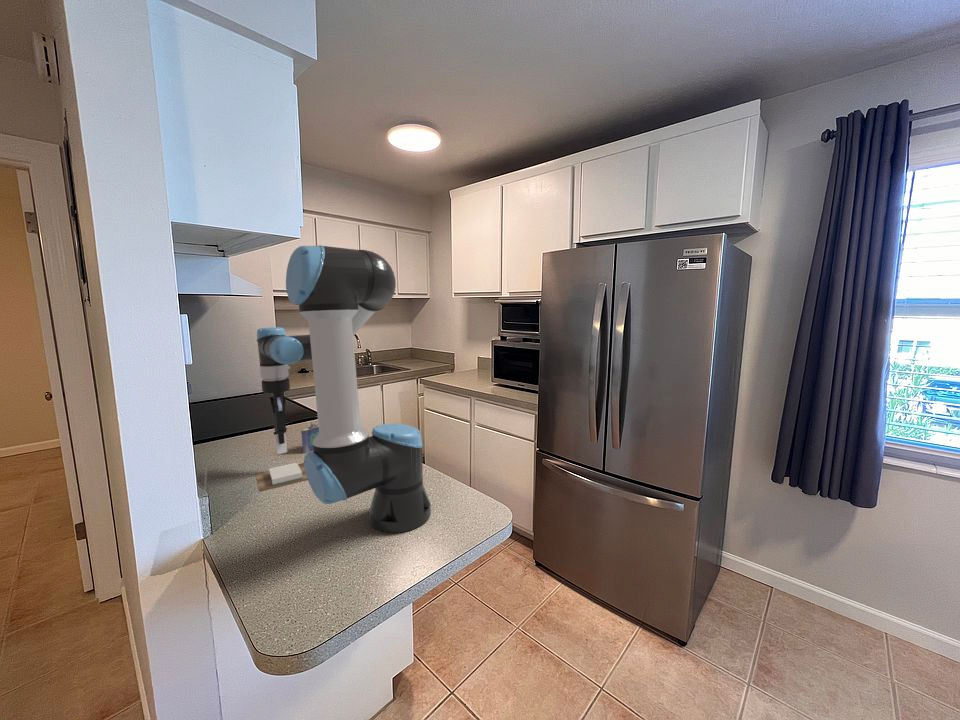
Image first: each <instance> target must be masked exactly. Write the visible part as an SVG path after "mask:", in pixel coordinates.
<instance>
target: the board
mask: <svg viewBox="0 0 960 720" xmlns="http://www.w3.org/2000/svg"><path fill="white" fill-rule="evenodd" d="M298 465H299V467H300V469H301V471H302V478H301V479H297V480H293V481H289V482H284V483H280V484H276V485H272V481H271V478H270V475H269V470H266V471H259V472H256V473H255V477H256V482H257V483H256V484H257V487H258V491H259V493H260V492H266V491H269V490H273V489H278V488H281V487H285V486H289V485H293V484H297V483H302V482H306V481H308V479H307V476H306V472H305V467H304V462H302V463H301V462H300V463H298Z"/></svg>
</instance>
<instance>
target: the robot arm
mask: <svg viewBox="0 0 960 720" xmlns="http://www.w3.org/2000/svg"><path fill="white" fill-rule="evenodd" d="M396 284H397V283H396V277H395V272H394V270H393V268H392V267H391V265H390V263H389V262H388V261H387V260H386V259H385V258H384V257H383V256H381V255H380V254H378V253H376V252H375V251H371V250H366V249H354V248H345V247H337V246H327V245H300V246H298V247H297V248H296V249H294V250H293V251H292V253H291V254H290V257H289V261H288V263H287V268H286V274H285V289H286V290H285V291H286V294H287V299H288V300H289V302H290V303H291V304H293V305H296V306H298V308H299V309H298V311H299V315H301V316H302V317H303V318H304V319H306V321H307V322H308V329H309V330H308V331H309V334H297V335H296V334H295V335H287V334H286V330H285V328H283V327H278V326H276V327H272V326H271V327H260V328H258V329H257V330H256V332H257V333H256V342H257V348H258V349H257V351H258V358H259V370H260V374H259V375H260V379H261V390H262V391H261V392H262V393H264V394H271V396H270V397H268V399H269V404H270V410H271V411H272V412H271V413H272V420H273V428H274V431H273V435H275V436H274V437H275V444H276V453H277V455H280V454H285V453H288V446H287V445H288V444H287V435H286V433H287V430H288V429H287V424H286V405H285V404H286V397H285V395H283V392H284V393H285V392H288V391H289V390H290V389H291V385H290V384H291V383H290V382H291V381H290V378H289V376H290V375H289V370H291V366H290V365H293V364H295V363H298V362H305V361H311V362H312V372H313V383H314V391H315V402H316V413H317V414H316V415H317V424H318V425H319V434H318V435H317V436H316V438H315V439H314V440H313V451H311V452H309V453H305V455H304V457H303V458H304V460H303V463H304V467H305V472H306V476H307V479H308V480H307V482H308V484H309V485H310V489H311V490H312V492H313V494H314V495H315V497H316V499H318V500H319V502H321V503H323V504H325V505H332V504H334V503H337V502H342V501H347V499H350V498H353V497H355V496H359V495H360V494H363V493H367V492H368V491H371V490H374V493H373V496H372V500H371V503H370V508H369V512H368V515H369V516H368V517H369V524H370V525H371V526H372V527H373V528H374V529H375V530H378V531H379V532H380V531H381V532H383V533H391V534H393V533H394V534H395V533H397V534H398V533H404V532H405V533H406V532H410V531H413V530H415V529H417V528H419V527H421V526H423V525H424V524H425V523H426V522H427V521H429V519H430V517H431V514H432V508H431V507H432V505H431V502H430V499H429V496H428V494H427V491H426V489H425V486H424V477H423V475H424V474H423V472H424V469H423V446H424V445H423V441H422V434H421V432H420V429H418V428H416V427H414V426H412V425H408V424H403V423H383V424H378V425H377V426H375V427H373V428H372V429H371V436H369V433H368V432H367V430H365V429H364V428H362V426H361V425H362V424H361V415H360V401H359V390H358V379H357V366H356V365H357V364H356V355H355V353H356V352H355V345H354V344H355V343H354V342H355V341H354V336H355V335H356V334H357V333H358V332H359V330H361V328H362V327H363V326H364V325H365V323H367V322H368V320H369V319H370V318H371V317H372V316H373V315H374V313H377V312H381V311H382V310H384V309H385V308H386V307H387V305H388V304H389V303H390V302H391V300H392V299H393V297H394V294H395V291H396Z"/></svg>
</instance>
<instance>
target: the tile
mask: <svg viewBox="0 0 960 720" xmlns="http://www.w3.org/2000/svg"><path fill="white" fill-rule="evenodd" d="M298 464H299V462H294V463H289V464H285V465H279V466H275V467H270V468H268V471H269V475H270V478H271V481H272V485H276V484H280V483H284V482H289V481H293V480H297V479H301V478H302V471H301V469H300V467H299V465H298Z"/></svg>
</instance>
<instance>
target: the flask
mask: <svg viewBox="0 0 960 720" xmlns="http://www.w3.org/2000/svg"><path fill="white" fill-rule="evenodd" d="M300 433H301V442H302V443H301V444H302V453H303V454H308V453H309V452H313V440H314V439H315V438H316V436H317V435H318V434H319V425H318V423H315V422H314V421H311V422H310V426H308V427H305V428H303V429H301V432H300Z"/></svg>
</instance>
